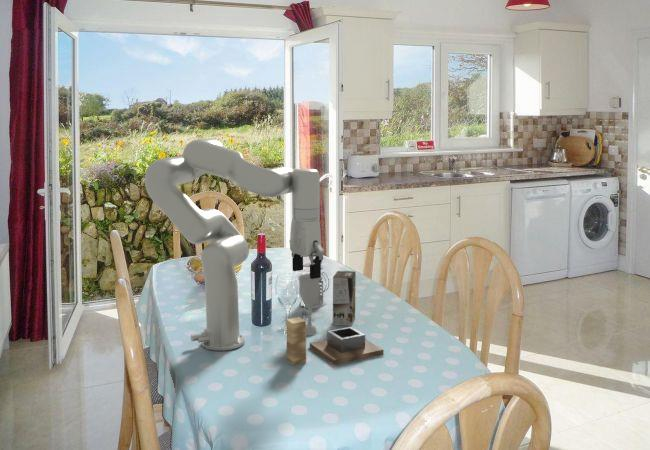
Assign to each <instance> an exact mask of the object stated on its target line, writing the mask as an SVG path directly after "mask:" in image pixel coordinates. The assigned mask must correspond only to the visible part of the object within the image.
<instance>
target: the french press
mask: <svg viewBox="0 0 650 450" xmlns="http://www.w3.org/2000/svg"><path fill="white" fill-rule="evenodd" d="M310 264H311V262H306V263H303V267H310ZM322 270H324V265H323V264H321V278H320V280H319V294H318V297H317V299H316V302H315V304H314V305H312V306H311V309H319V308H323V307H325V306H327V303H326V302H325V301H324V293H325V292H326V291H328V290H329V287H330V278H329V277H328V275H327V274H326V272H325V271H322ZM324 274H325V276H326V277H325V276H324ZM323 278H324V281H325V282H327V281H328V285H327V286H325V287H324V281H323ZM326 278H327V279H326ZM298 305H299V306H300V307H301V301H300V302H299V304H298ZM304 308H307V309H308V306H306V305H305V307H304Z"/></svg>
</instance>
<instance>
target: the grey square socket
mask: <svg viewBox="0 0 650 450" xmlns="http://www.w3.org/2000/svg"><path fill="white" fill-rule="evenodd" d="M326 338H327V344H328V345H329V346H331V347H332V348H334V349H335V350H337V351H338V352H340V353H344V352H349V351H354V350H358V349H363V348H365V339H366V334H365V333H363V332H361V331H360V330H358V329H356V328H354V327H352V326H347V327H346V326H345V327H343V328H337V329H331V330H327V331H326Z"/></svg>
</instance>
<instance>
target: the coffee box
mask: <svg viewBox="0 0 650 450" xmlns="http://www.w3.org/2000/svg"><path fill="white" fill-rule="evenodd" d="M355 319H356V271H350V270H342V271H341V270H338V271H336V272H335V274H334V275H333V276H332V325H333V326H334V325H335V326H345V327H346V326H347V327H352V325H353V323H354V321H355Z"/></svg>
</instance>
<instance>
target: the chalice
mask: <svg viewBox="0 0 650 450" xmlns="http://www.w3.org/2000/svg"><path fill="white" fill-rule="evenodd" d="M321 277H322V276H321ZM321 277H320V278H321ZM320 278H315V279H311V278H310V273H307V274H306V273H305V274H300V275H298V276H297V279H298V282H299V283H298V284H299V285H298V286H299V290H298V293H299V295H300V297H301V298H300V299H301V301H302V300H303V302H304V304H305V305H306V306H308V308H307V311H306V313H307V317H306V319H307V322H306V336H314V335H315V336H316V335H317V334H318V333H319V332H318V331H317V327H316V325H314V324H313V323H312V319H313V317H312V313H313V311H312V308H311V306H312V305H314V304H315V302H316V299H317V297H318V294H319V284H320V283H319V280H320Z"/></svg>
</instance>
